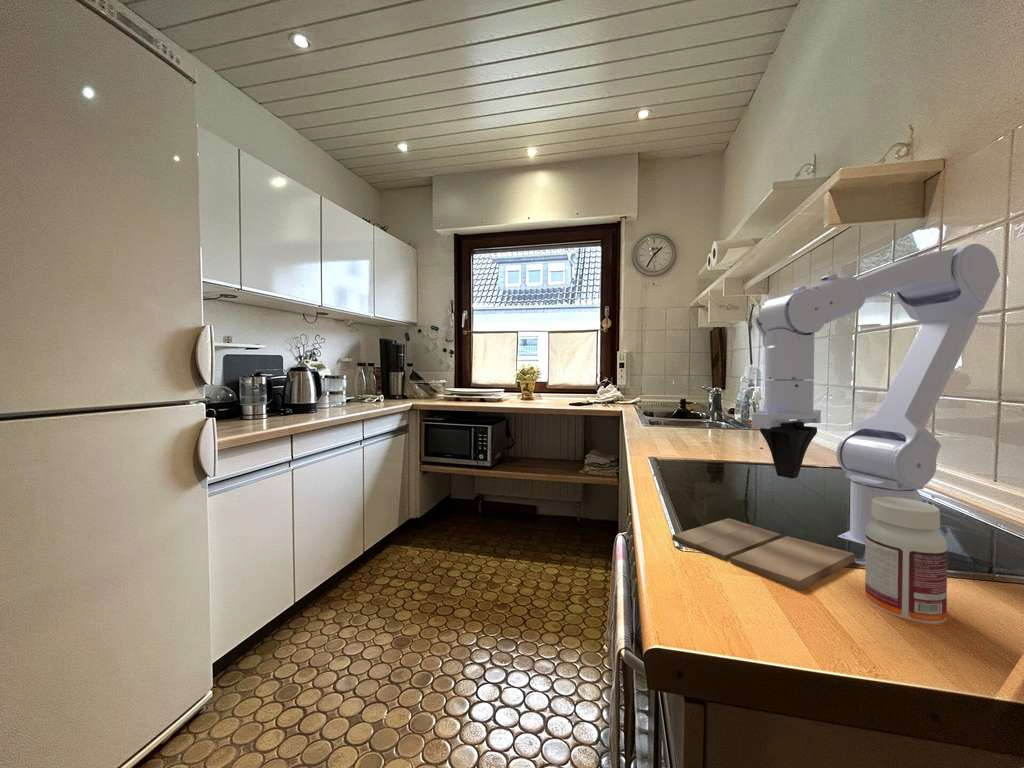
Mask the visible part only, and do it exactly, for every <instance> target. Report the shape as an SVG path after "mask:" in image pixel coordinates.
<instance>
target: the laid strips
mask: <svg viewBox="0 0 1024 768" xmlns="http://www.w3.org/2000/svg"><path fill="white" fill-rule="evenodd" d="M671 536H672V537H671V539H672V540H673V541H676V542H678V543H681V544H683V545H685V546H689V547H690V548H693V549H696V550H697V551H700V552H703V553H705V554H707V555H710V556H713V557H715V558H718V559H720V560H722V561H726V560H729V559H730V558H731V557H733V556H736V555H739V554H741V553H744V552H746V551H749V550H752V549H754V548H757V547H759V546H762V545H765V544H767V543H770V542H773V541H775V540H778V539H780V538H782V534H781V533H779V532H776V531H771V530H768V529H766V528H762V527H759V526H755V525H751V524H749V523H746V522H744V521H743V522H742V521H739V520H737V519H734V518H733V519H732V518H729V517H728V518H725V519H721V520H718V521H715V522H711V523H708V524H705V525H701V526H698V527H694V528H691V529H687V530H684V531H680V532H677V533H674V534H672V535H671Z"/></svg>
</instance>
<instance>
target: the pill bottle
mask: <svg viewBox="0 0 1024 768" xmlns="http://www.w3.org/2000/svg"><path fill="white" fill-rule="evenodd" d="M871 515H872V516H873V517H874V518H876V519H878V520H875V521H872V522H870V523H869V524H868V525H867V527H866V532H865V534H866V545H865V546H864V547H865V551H864V552H865V554H864V555H865V559H864V560H865V562H864V564H865V565H864V566H865V567H864V570H865V571H864V573H865V574H864V591H865V592H864V594H865V598H866V600H867V601H868V602H869V603H870V604H871V605H872V606H873V607H876V608H878V609H879V610H881V611H883V612H886V613H888V614H890V615H893V616H895V617H899V618H902V619H905V620H909V621H913V622H918V623H922V624H923V623H924V624H942V623H945V622H946V621H947V618H948V617H947V615H948V614H947V613H948V611H947V610H948V609H947V608H948V607H947V605H948V590H947V589H948V549H949V548H948V543H947V539H945V537H944V535H942V534H941V533H939V532H938V531H936V530H938V529H939V528H941V510H940V508H938V507H937V506H935V505H934V504H930V503H927V502H920V501H915V500H910V499H903V498H895V497H875V498H873V499H872V506H871Z"/></svg>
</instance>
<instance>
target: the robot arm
mask: <svg viewBox="0 0 1024 768" xmlns="http://www.w3.org/2000/svg"><path fill="white" fill-rule="evenodd" d="M1000 277H1001V273H1000V268H999V265H998V262H997V259H996V257H995V255H994V253H993V252H992V251H991V250H990V249H989V248H988V247H987V246H985V245H983V244H980V243H971V244H968V245H965V246H963V247H961V248H957V247H956V248H955V247H954V248H950V249H945V250H941V251H936V252H932V253H928V254H921V255H918V256H915V257H910V258H907V259H903V260H900V261H899V260H898V261H896V262H892V263H890V264H886V265H884V266H882V267H879V268H877V269H875V270H873V271H870V272H867V273H866V274H865V273H864V274H863V275H860V276H858V277H854V276H852V275H847V274H841V275H837V273H835V272H834V273H832V274H828V275H824V276H822V277H820V282H817V283H815V284H813V285H810V286H807V287H806V285H802V286H798V287H795V288H793V289H792V293H791V294H787V295H783V296H779V297H778V296H777V297H774V298H771V299H769V300H767V301H765V302H764V304H763V305H762V306H761V308H760V310H759V311H758V315H757V316H756V317H754V321H755V322H754V323H755V326H756V329H757V330H758V332H759V333H760V334H761V337H762V346H763V347H764V402H763V403H764V407H763V408H764V409H756V410H755V411H756V412H752V413H751V427H752V428H757V429H759V432H760V433H761V435H762V436H763V438H764V440H765V442H766V444H767V446H768V448H769V451H770V454H771V457H772V460H773V464H774V465H773V466H774V468H775V471H776V475H777V477H782V478H788V479H796V478H798V477H799V474H800V471H801V468H802V464H803V462H804V461H803V460H804V458H805V455H806V452H807V450H808V447H809V446H810V444H811V442H812V441H813V439H814V438H815V437H816V436H817V433H818V427H817V426H809V425H805V424H821V419H822V418H821V413H822V410H821V409H814V403H815V402H814V399H815V397H814V396H815V395H814V392H815V391H814V390H815V389H814V388H815V387H814V386H815V383H814V382H815V381H814V380H815V333H818V332H820V331H821V329H822V328H824V325H826V324H828V323H831V322H833V321H835V320H839V319H842V318H843V317H846V316H849V315H851V314H854V313H856V312H858V311H859V310H861V308H862V307H863V305H864V304H865V302H866V299H869V298H873V297H876V296H878V295H882V294H885V293H888V294H893V295H894V297H895V298H896V300H898V303H899V304H900V305H901V307H902V308H903V309H904V311H905V313H906V314H907V315H908V317H909V319H912V320H914V321H916V322H920V324H921V325H920V327H919V329H918V331H917V333H916V335H915V336H914V339H913V341H912V343H911V345H910V347H909V349H908V350H907V353H906V355H905V357H904V358H903V361H902V363H901V364H900V366H899V369H898V371H897V372H896V375H895V377H894V378H893V381H892V382H891V384H890V386H889V388H888V391H887V392H886V393H885V394H886V395H885V396H884V398H883V401H882V403H881V404H880V406H879V407H878V410H877V412H876V413H875V414H873V415H871V416H869V417H867V418H864V419H862V420H860V421H858V422H856V423H855V424H854V425H853V428H852V429H851V431H850V432H849V433H848V434H847V435H845V436H844V437H842V439H841V440H840V441H839V443H838V445H837V447H836V448H837V449H836V460H837V462H838V463H837V464H838V465H839V467H840V468H841V469H842V470H843V471H845V477H846V478H847V479H850V487H849V488H850V489H849V490H850V494H849V495H850V501H849V503H850V504H849V507H850V508H849V510H850V511H849V513H850V514H849V530H848V531H846V532H843V533H842V534H839V535H837V537H839V538H841V539H844V540H847V541H850V542H851V541H852V542H854V543H858V544H861V545H865V546H866V534H865V532H866V527H867V525H868V524H869V523H870V522H872V521H875V520H878V519H876V518H874V517H873V516H872V515H871V506H872V499H873V498H875V497H895V498H903V499H910V500H915V501H920V502H923V501H924V500H923V497H922V496H921V494H920V492H919V491H918V490H924V488H925V487H924V486H926V485H927V484H928V483H929V482H931V480H933V478H934V476H935V474H936V471H937V458H938V453H939V451H940V449H941V447H942V444H941V443H940V442H939V441H938V439H937V438H936V436H935V435H934V434H933V433H932V432H930V430H928V429H927V428H926V426H927V424H928V422H929V420H930V418H931V416H932V415H933V412H934V411H935V408H936V406H937V404H938V402H939V400H940V398H941V397H942V395H943V392H944V390H945V388H946V386H947V384H948V382H949V380H950V378H951V376H952V374H953V372H954V371H955V368H956V366H957V364H958V362H959V360H960V358H961V356H962V354H963V352H964V349H965V348H966V346H967V344H968V342H969V340H970V338H971V336H972V333H973V332H974V329H975V327H976V325H977V323H978V320H979V315H980V312H981V311H982V310H984V309H985V307H986V305H987V303H988V301H989V299H990V296H991V294H992V293H993V291H994V288H995V286H996V284H997V283H998V280H999V278H1000Z"/></svg>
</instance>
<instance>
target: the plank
mask: <svg viewBox="0 0 1024 768" xmlns="http://www.w3.org/2000/svg"><path fill="white" fill-rule="evenodd" d="M729 559H730V562H729V563H730V564H733V565H734V566H737V567H740V568H742V569H745V570H747V571H750V572H753V573H755V574H757V575H759V576H762V577H765V578H767V579H769V580H772V581H775V582H777V583H780V584H781V585H784V586H787V587H790V588H792V589H794V590H796V591H799V592H801V591H803V590H805V589H806V588H808V587H810V586H812V585H814V584H815V583H818V582H819V581H821V580H823V579H825V578H827V577H829V576H830V575H833V574H835V573H836V572H838V571H840V570H842V569H844V568H846V567H848V566H849V565H852V564H854V563H855V553H854V552H851V551H848V550H843V549H838V548H835V547H830V546H827V545H824V544H818V543H815V542H811V541H807V540H803V539H799V538H797V537H793V536H789V535H786V536H783V537H781V538H780V539H778V540H775V541H773V542H770V543H767V544H765V545H762V546H759V547H757V548H754V549H752V550H749V551H746V552H744V553H741V554H739V555H736V556H733V557H731V558H729Z"/></svg>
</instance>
